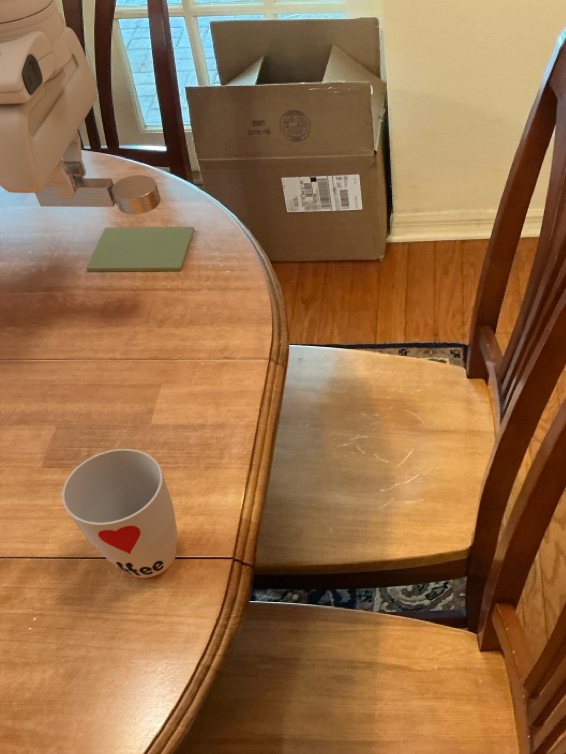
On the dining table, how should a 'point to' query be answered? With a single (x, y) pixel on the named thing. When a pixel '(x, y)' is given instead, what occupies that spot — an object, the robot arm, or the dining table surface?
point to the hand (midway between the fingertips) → (73, 187)
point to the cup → (124, 510)
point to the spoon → (107, 194)
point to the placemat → (141, 249)
